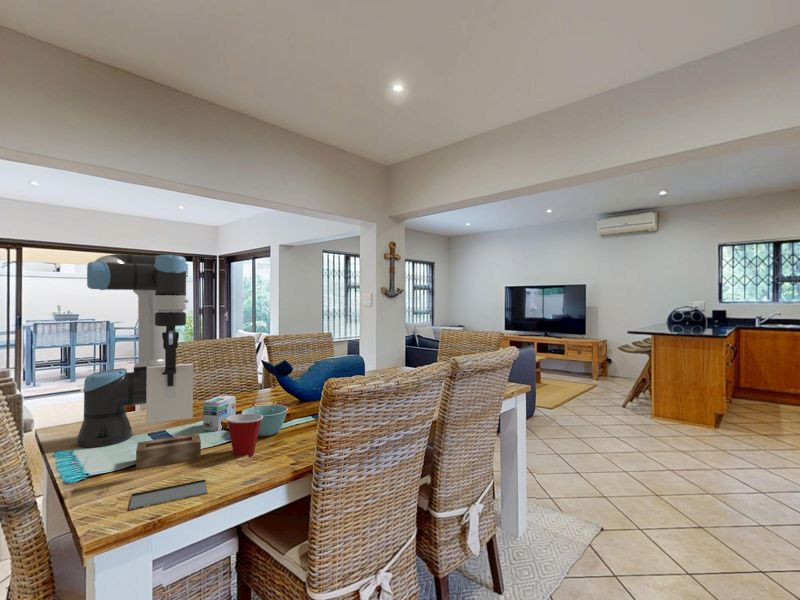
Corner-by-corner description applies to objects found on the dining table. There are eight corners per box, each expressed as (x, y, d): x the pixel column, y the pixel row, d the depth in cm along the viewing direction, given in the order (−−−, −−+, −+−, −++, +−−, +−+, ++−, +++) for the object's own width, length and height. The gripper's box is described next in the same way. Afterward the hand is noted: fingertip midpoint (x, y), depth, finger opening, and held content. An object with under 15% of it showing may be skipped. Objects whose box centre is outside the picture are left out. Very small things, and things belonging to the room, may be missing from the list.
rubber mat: (129, 510, 90) (129, 508, 90) (135, 476, 108) (135, 475, 108) (207, 493, 98) (207, 491, 98) (201, 464, 116) (201, 463, 116)
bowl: (233, 433, 143) (233, 410, 143) (272, 423, 155) (273, 402, 155) (255, 443, 133) (256, 419, 133) (296, 432, 145) (296, 409, 145)
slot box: (135, 473, 110) (136, 451, 110) (137, 462, 117) (137, 442, 117) (200, 461, 118) (200, 441, 118) (198, 452, 125) (198, 433, 125)
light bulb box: (218, 432, 144) (218, 402, 144) (202, 431, 145) (202, 401, 145) (236, 423, 155) (236, 395, 155) (220, 422, 156) (221, 394, 156)
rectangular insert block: (146, 424, 106) (146, 367, 106) (146, 421, 108) (147, 366, 108) (192, 418, 112) (193, 364, 112) (192, 415, 114) (192, 363, 114)
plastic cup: (270, 451, 126) (270, 413, 126) (244, 464, 116) (244, 423, 116) (244, 446, 130) (245, 409, 130) (217, 458, 120) (217, 418, 120)
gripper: (187, 312, 105) (186, 400, 105) (184, 310, 119) (184, 389, 119) (154, 312, 101) (153, 404, 101) (155, 310, 115) (154, 392, 115)
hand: (170, 396), depth 110 cm, fingers closed on rectangular insert block, 2 cm apart
